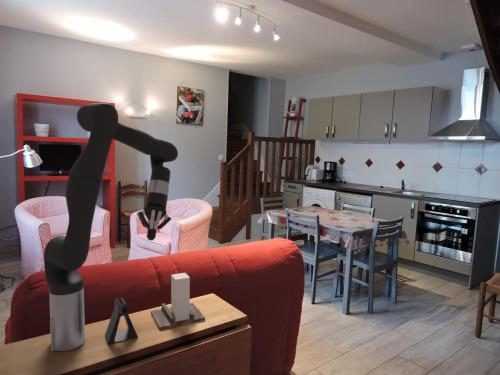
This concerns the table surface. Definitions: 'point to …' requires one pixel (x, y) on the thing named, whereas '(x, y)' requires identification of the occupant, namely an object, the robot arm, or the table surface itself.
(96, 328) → the table surface
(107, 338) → the phone stand
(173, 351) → the table surface
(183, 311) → the cream block
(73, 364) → the table surface
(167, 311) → the ridged brown base plate
